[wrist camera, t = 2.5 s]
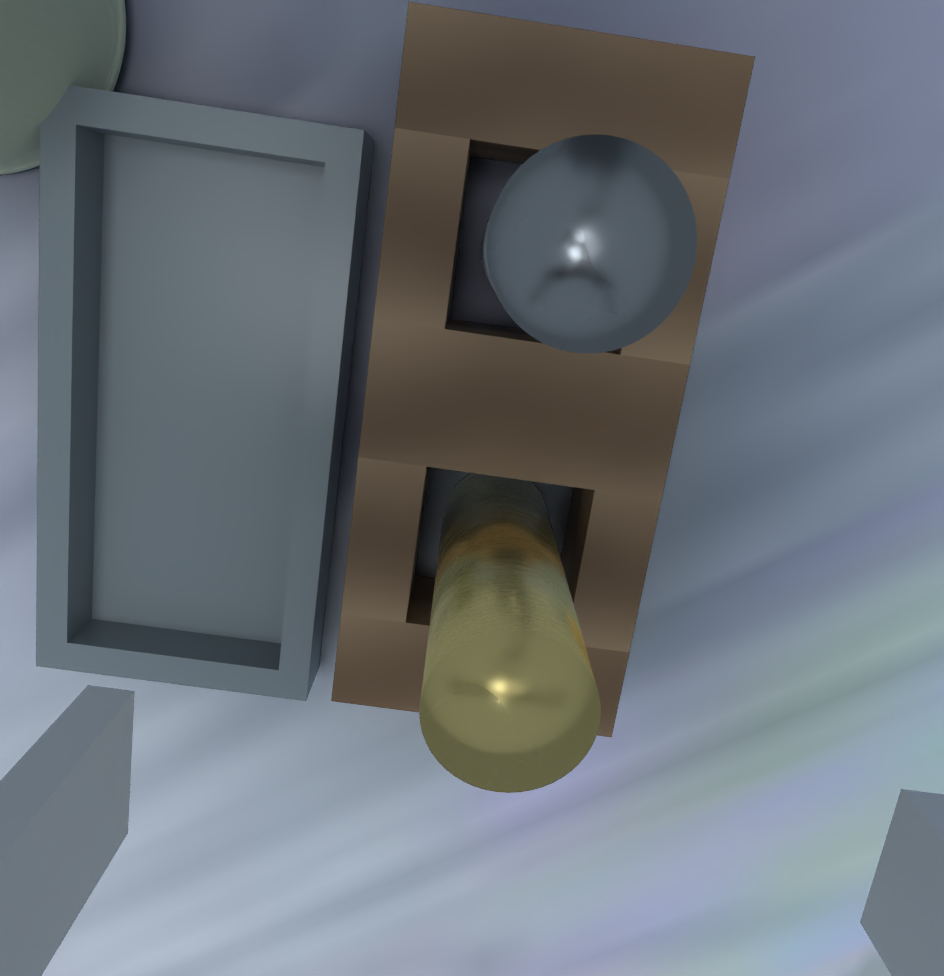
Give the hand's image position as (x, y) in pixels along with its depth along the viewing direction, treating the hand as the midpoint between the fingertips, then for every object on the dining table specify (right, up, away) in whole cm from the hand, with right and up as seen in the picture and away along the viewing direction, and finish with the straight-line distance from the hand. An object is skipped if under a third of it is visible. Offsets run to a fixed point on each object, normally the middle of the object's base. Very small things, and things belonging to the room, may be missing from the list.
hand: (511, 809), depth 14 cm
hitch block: (+1, +9, +14) cm, 16 cm away
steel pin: (+1, +13, +13) cm, 18 cm away
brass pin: (0, +4, +15) cm, 16 cm away
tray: (-9, +8, +14) cm, 19 cm away
